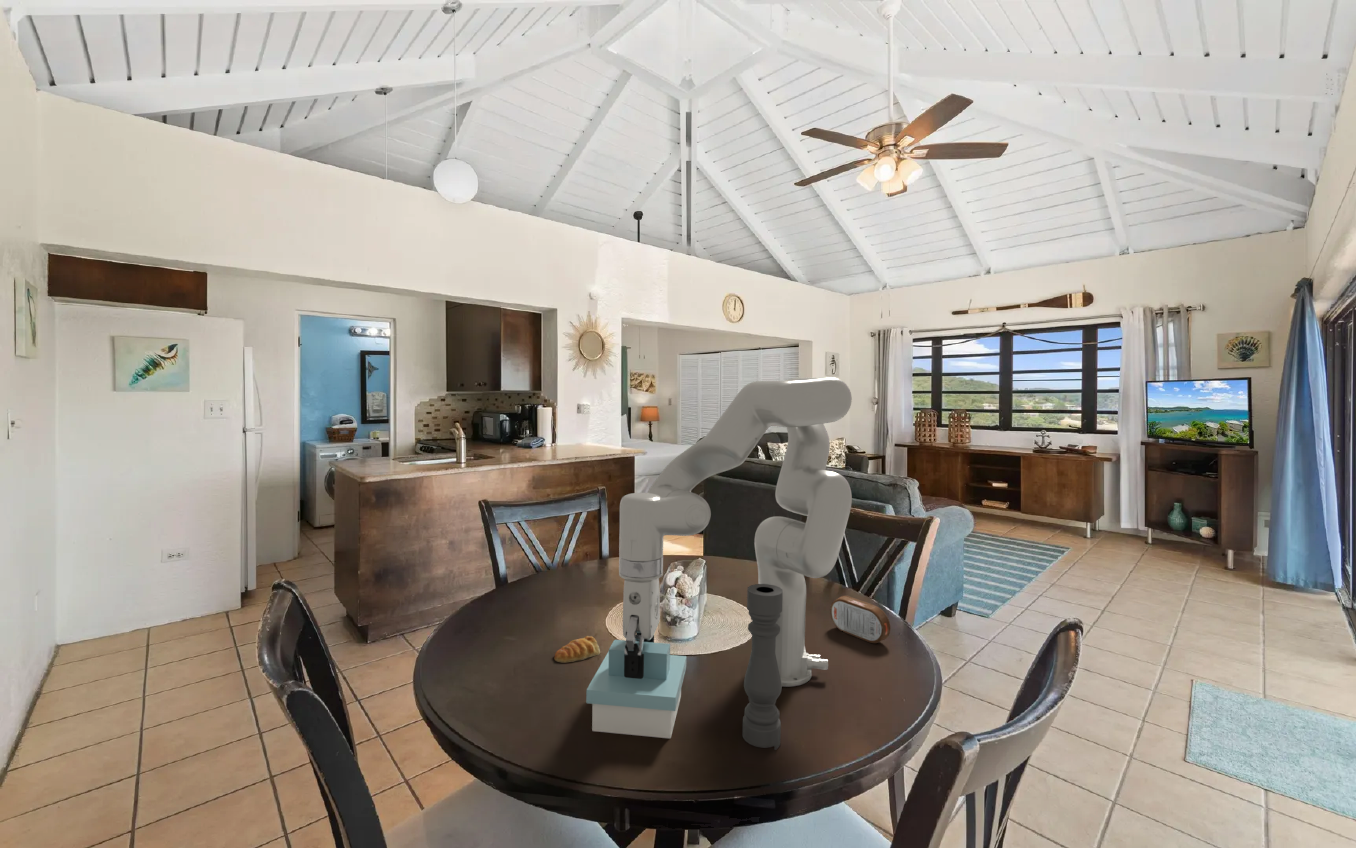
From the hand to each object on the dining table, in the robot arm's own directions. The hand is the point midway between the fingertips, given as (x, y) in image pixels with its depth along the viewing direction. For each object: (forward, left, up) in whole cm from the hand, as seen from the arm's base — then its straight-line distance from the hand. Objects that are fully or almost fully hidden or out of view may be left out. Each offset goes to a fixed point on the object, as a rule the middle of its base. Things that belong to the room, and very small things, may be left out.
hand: (639, 663), depth 99 cm
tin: (-44, -42, -10) cm, 61 cm away
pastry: (+17, -20, -10) cm, 28 cm away
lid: (0, 0, -4) cm, 4 cm away
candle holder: (-21, +3, -10) cm, 23 cm away
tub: (0, 0, -9) cm, 9 cm away
